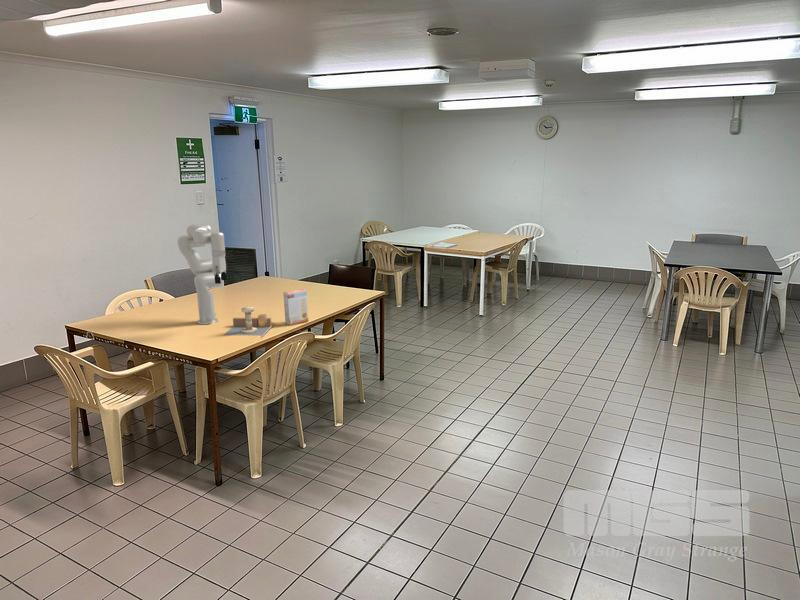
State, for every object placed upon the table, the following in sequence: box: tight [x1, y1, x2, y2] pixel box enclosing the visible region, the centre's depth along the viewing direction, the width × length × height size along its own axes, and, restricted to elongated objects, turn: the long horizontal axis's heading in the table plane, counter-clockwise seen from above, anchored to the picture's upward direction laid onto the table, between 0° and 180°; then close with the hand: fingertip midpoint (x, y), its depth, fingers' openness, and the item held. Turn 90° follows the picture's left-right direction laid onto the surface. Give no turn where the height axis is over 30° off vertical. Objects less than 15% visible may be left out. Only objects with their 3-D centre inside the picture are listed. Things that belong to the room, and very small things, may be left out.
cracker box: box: [282, 288, 309, 326], centre depth 342 cm, size 14×6×21 cm, turn 131°
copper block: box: [257, 313, 268, 327], centre depth 332 cm, size 4×4×7 cm
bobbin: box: [241, 306, 257, 334], centre depth 321 cm, size 9×9×14 cm
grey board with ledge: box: [223, 317, 273, 339], centre depth 324 cm, size 20×23×6 cm
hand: (221, 281), depth 322 cm, fingers open, 9 cm apart
